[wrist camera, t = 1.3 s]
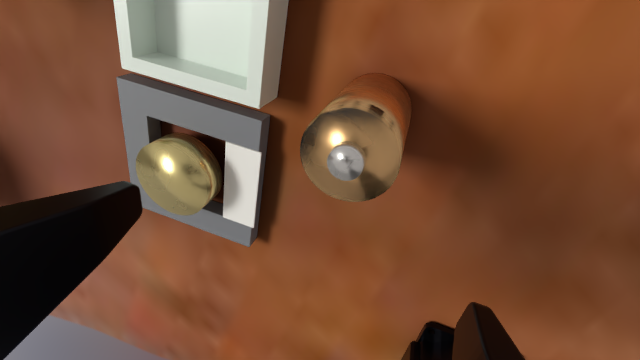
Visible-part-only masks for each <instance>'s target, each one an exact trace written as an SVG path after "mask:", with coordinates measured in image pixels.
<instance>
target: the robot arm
mask: <svg viewBox="0 0 640 360" xmlns="http://www.w3.org/2000/svg"><path fill="white" fill-rule="evenodd" d="M142 210H143V208H142V200H141V193H140V188H139V187H138V186H137V185H135V184H132V183H129V182H126V181H121V182H116V183H111V184H107V185H102V186H97V187H92V188H87V189H83V190H78V191H73V192H68V193H64V194H59V195H54V196H49V197H45V198H40V199H35V200H30V201H26V202H21V203H16V204H11V205H6V206H2V207H0V360H3V359H4V358H5V357H6V356H7V355H8V354H9V353H11V352H12V350H13V349H15V348H16V347H17V345H19V344H20V343H21V342H22V341H23V340H24V339H25V338H26V337H27V336H28V335H29V334H30V333H31V332H32V331H33V330H34V329H35V328H36V327H37V326H38V325H39V324H40V323H41V322H42V321H43V320H44V319H45V318H46V317H47V316H48V315H49V314H50V313H51V312H52V311H53V310H54V309H55V308H56V307H57V306H58V305H59V304H60V303H61V302H62V301H63V300H64V299H65V298H66V297H67V296H68V295H69V294H70V293H71V292H72V291H73V290H74V289H75V288H76V287H77V286H78V285H79V284H80V283H81V282H82V281H83V280H84V279H85V278H86V277H87V276H88V275H89V274H90V273H91V272H92V271H93V270H94V269H95V268H96V267H97V266H98V265H99V264H100V263H101V262H102V261H103V260H104V259H105V258H106V257H107V256H108V255H109V253H110V252H111V251H112V250H113V249H114V248H115V246H116V245H117V244H118V243H119V242H120V240H121V239H122V238H123V237H124V236H125V234H126V233H127V232H128V231H129V230H130V228H131V227H132V226H133V225H134V224H135V222H136V221H137V220H138V219H139V218H140V216H141V214H142ZM431 329H432V330H431ZM401 360H525V359H524V357H523V356H522V354H521V353H520V351H519V350H518V348H517V347H516V345H515V344H514V342H513V341H512V339H511V338H510V337H509V335H508V334H507V332H506V331H505V329H504V328H503V326H502V325H501V323H500V322H499V320H498V319H497V317H496V316H495V314H494V313H493V311H492V310H491V309H490V308H489V307H487V306H484V305H481V304H478V303H475V302H471V303H470V304H469V305H468V306H467V308H466V309H465V311H464V313H463V314H462V316H461V317H460V319H459V321H458V322H457V325H456V328H455V331H454V330H451V329H449V328H446V327H443V326H441V325H438V324H435V323H432V322H428V323H426V324H425V325H424V327H423V329H422V331H421V332H420V334H419V336H418V338H417V339H416V341H412V342H411V343H410V345H409V346H408V348H407V350H406V352H405V354H404V355H403V357H402V359H401Z"/></svg>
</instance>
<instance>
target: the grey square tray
mask: <svg viewBox="0 0 640 360" xmlns="http://www.w3.org/2000/svg"><path fill="white" fill-rule="evenodd" d="M117 85H118V92H119V99H120V107H121V114H122V122H123V129H124V136H125V144H126V151H127V159H128V166H129V173H130V181H131V183H132V184H135V185H137V186H138V187H139V188H140V193H141V200H142V207H143V208H145V209H148V210H151V211H153V212H156V213H159V214H162V215H164V216H167V217H170V218H172V219H175V220H178V221H180V222H183V223H186V224H188V225H191V226H194V227H197V228H199V229H202V230H205V231H207V232H210V233H213V234H215V235H218V236H221V237H223V238H226V239H229V240H232V241H234V242H237V243H240V244H242V245H245V246H248V247H250V246H251V244H252V243H253V242H254V240H255V239H256V238H257V232H258V223H259V213H260V204H261V195H262V186H263V177H264V168H265V159H266V150H267V141H268V132H269V123H270V115H269V114H266V113H262V112H259V111H256V110H252V109H249V108H246V107H242V106H239V105H235V104H232V103H229V102H225V101H222V100H219V99H215V98H212V97H209V96H205V95H202V94H199V93H195V92H192V91H188V90H185V89H182V88H178V87H175V86H172V85H168V84H165V83H162V82H158V81H155V80H152V79H148V78H145V77H142V76H138V75H135V74H127V75H123V76H119V77H117ZM160 120H162V121H165V122H168V123H171V124H174V125H178V126H181V127H184V128H187V129H190V130H193V131H196V132H199V133H203V134H206V135H209V136H212V137H215V138H218V139H221V140H225V141H226V148H225V174H224V200H223V204H221V203H218V202H215V201H213V200H211V201H210V202H209V203H208V204H207V205H205V206H204V207H203V208H202V209H201V210H200V211H199V212H197V213H195V214H193V215H186V216H185V215H177V214H174V213H171V212H169V211H167V210H165V209H163V208H162V207H160V206H159V205H158V204H156V203H155V202H154V201H153V200H152V199H151V198H150V197H149V196H148V194H147V193H146V192H145V190H144V189H143V187H142V185H141V184H140V181H139V179H138V176H137V172H136V158H137V155H138V153H139V151H140V150H141V149H142V148H143V147H144V146H146V145H148V144H150V143H152V142H153V141H155V140H157V139H159V138H161V126H160Z"/></svg>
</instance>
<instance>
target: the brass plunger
mask: <svg viewBox="0 0 640 360" xmlns="http://www.w3.org/2000/svg"><path fill="white" fill-rule="evenodd" d="M136 172H137V176H138V179H139V181H140V184H141V185H142V187H143V189H144V190H145V192H146V193H147V194H148V196H149V197H150V198H151V199H152V200H153V201H154V202H155V203H156V204H158V205H159V206H160V207H162V208H163V209H165V210H167V211H169V212H171V213H174V214H177V215H185V216H186V215H193V214H195V213H197V212H199V211H200V210H201V209H202V208H203V207H204V206H205V205H207V204H208V203H209V202H210V201H211V200H212V199H213V198H214V197H215V196H216V195H217V194H218V193H219V191H220V189H221V186H222V172H221V168H220V166H219V163H218V161H217V159H216V157H215V156H214V154H213V153H212V152H211V151H210V149H209V148H208V147H207V146H206V145H205V144H203V143H202V142H201V141H200V140H198V139H197V138H195V137H193V136H190V135H188V134H184V133H170V134H167V135H165V136H163V137H161V138H159V139H157V140H155V141H153V142H152V143H150V144H148V145H146V146H144V147H143V148H142V149H141V150H140V151H139V153H138V155H137V158H136Z"/></svg>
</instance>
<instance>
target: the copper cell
mask: <svg viewBox="0 0 640 360" xmlns="http://www.w3.org/2000/svg"><path fill="white" fill-rule="evenodd" d="M411 114H412V105H411V100H410V97H409V94H408V92H407V91H406V89H405V88H404V86H403V85H402V84H401V83H400V82H399V81H397V80H396V79H394V78H392V77H390V76H388V75H385V74H380V73H369V74H365V75H362V76H360V77H358V78H356V79H354V80H353V81H352V82H351V83H349V84H348V85H347V86H346V87H345V88H344V89H343V90H342V91H341V92H340V93H339V94H338V95H337V96H336V97H335V98H334V100H333V101H332V102H331V103H330V104H329V105H328V106H327V107H326V108H325V109H324V110H323V111H322V112H321V113H320V114H319V115H318V116H317V117H316V118H315V119H314V120H313V121H312V122H311V123H310V124H309V125H308V127H307V128H306V130H305V132H304V134H303V137H302V140H301V146H300V156H301V161H302V164H303V167H304V170H305V172H306V174H307V175H308V177H309V178H310V180H311V181H312V182H313V183H314V184H315V185H316V186H317V187H318V188H319V189H320V190H321V191H323V192H324V193H326V194H328V195H330V196H332V197H334V198H337V199H340V200H343V201H350V202H359V201H366V200H370V199H373V198H375V197H377V196H379V195H381V194H382V193H384V192H385V191H386V190H387V189H388V188H389V187H390V186H391V185H392V184H393V182H394V181H395V179H396V177H397V175H398V172H399V168H400V164H401V160H402V155H403V151H404V146H405V142H406V137H407V133H408V128H409V124H410V119H411Z"/></svg>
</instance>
